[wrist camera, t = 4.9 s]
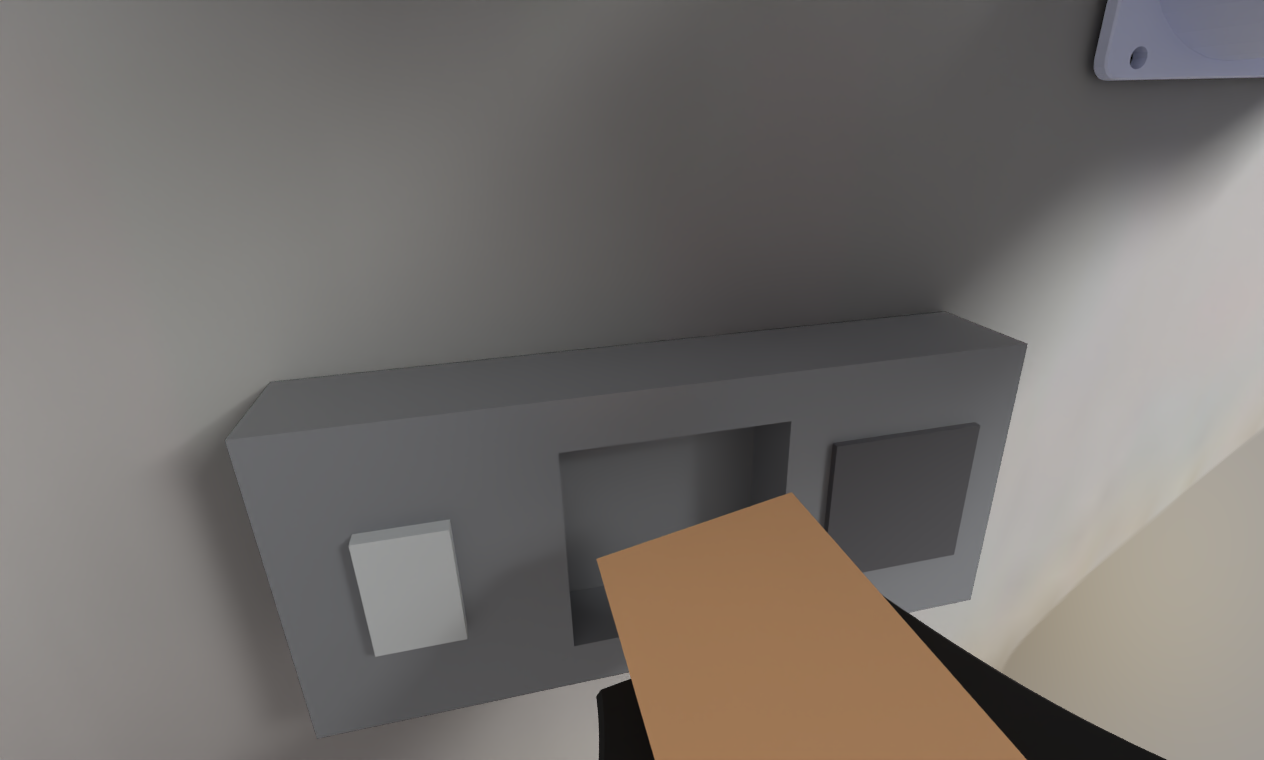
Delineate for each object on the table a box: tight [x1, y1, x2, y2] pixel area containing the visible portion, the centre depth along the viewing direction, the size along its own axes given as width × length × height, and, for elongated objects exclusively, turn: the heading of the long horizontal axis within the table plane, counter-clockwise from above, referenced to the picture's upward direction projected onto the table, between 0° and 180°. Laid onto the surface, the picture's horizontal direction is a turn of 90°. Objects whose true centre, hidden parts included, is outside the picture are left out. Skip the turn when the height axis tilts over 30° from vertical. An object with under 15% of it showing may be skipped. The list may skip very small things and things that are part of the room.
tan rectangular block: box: [596, 492, 1027, 760], centre depth 10 cm, size 4×4×7 cm
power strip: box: [225, 312, 1027, 739], centre depth 16 cm, size 18×8×3 cm, turn 92°
